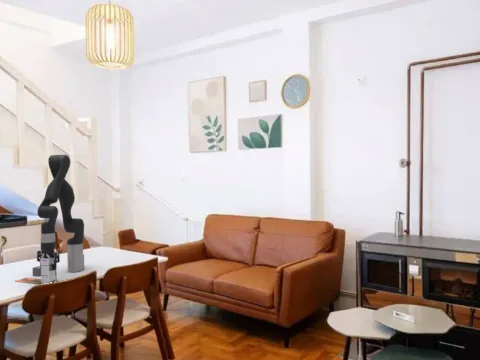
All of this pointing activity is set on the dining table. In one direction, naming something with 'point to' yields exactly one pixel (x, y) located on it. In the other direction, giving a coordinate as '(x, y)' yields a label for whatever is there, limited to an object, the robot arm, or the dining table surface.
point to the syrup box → (47, 271)
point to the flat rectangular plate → (30, 280)
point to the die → (37, 271)
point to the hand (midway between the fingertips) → (48, 269)
